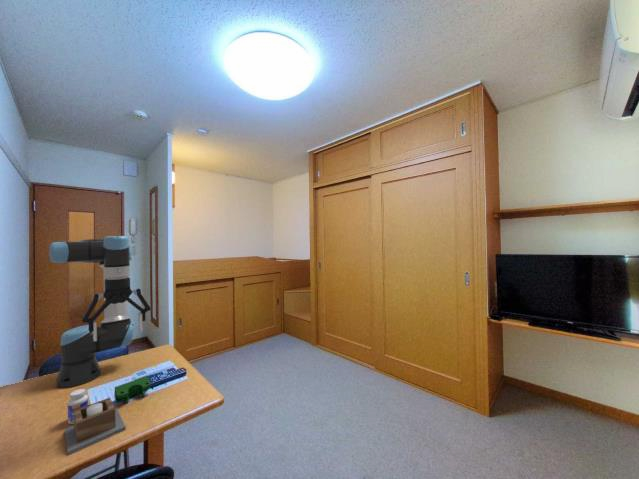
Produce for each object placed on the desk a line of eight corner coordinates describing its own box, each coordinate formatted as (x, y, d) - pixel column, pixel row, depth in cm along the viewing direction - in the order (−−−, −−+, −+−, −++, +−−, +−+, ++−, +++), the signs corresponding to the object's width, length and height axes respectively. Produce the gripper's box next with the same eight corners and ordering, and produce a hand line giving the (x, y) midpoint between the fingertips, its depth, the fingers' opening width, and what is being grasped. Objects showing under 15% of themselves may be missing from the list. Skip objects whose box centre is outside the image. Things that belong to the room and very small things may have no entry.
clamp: (123, 414, 103) (112, 400, 99) (120, 404, 107) (109, 390, 103) (156, 391, 111) (147, 377, 106) (151, 382, 114) (143, 368, 110)
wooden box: (74, 428, 88) (73, 410, 88) (110, 414, 95) (109, 397, 95) (77, 443, 82) (76, 423, 82) (115, 426, 89) (115, 408, 89)
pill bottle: (71, 426, 90) (70, 398, 90) (65, 421, 93) (64, 393, 93) (91, 417, 95) (90, 390, 95) (85, 412, 98) (84, 386, 98)
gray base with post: (64, 431, 88) (64, 407, 88) (117, 411, 98) (116, 389, 98) (67, 455, 78) (67, 428, 78) (125, 429, 89) (124, 405, 89)
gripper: (71, 283, 86) (73, 348, 87) (158, 274, 104) (159, 328, 105) (70, 281, 92) (72, 341, 92) (153, 273, 109) (154, 324, 110)
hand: (118, 334), depth 98 cm, fingers open, 13 cm apart
